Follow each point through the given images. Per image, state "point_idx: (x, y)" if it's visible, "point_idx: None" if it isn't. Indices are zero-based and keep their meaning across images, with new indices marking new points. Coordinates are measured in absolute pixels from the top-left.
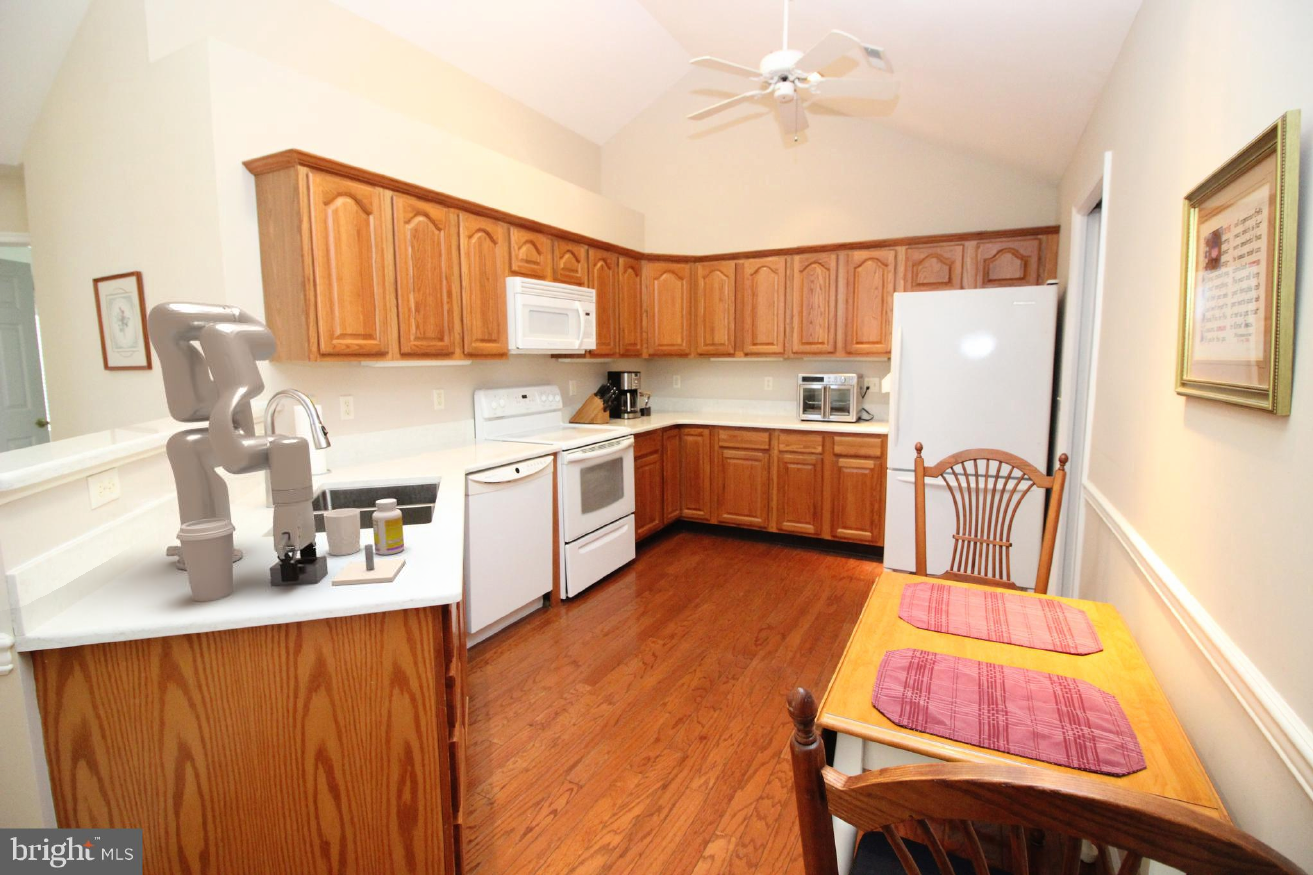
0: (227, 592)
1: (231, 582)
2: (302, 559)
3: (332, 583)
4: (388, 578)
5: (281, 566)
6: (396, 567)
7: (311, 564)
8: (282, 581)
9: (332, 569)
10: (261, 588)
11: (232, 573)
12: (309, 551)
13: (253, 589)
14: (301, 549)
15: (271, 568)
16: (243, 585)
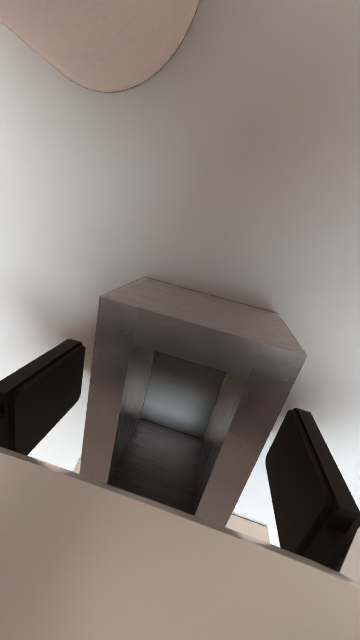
0: (59, 70)
1: (63, 52)
2: (215, 459)
3: (76, 467)
4: None
5: (8, 382)
6: None
7: None
8: (70, 340)
9: (266, 479)
10: (132, 237)
11: (39, 2)
12: (292, 526)
13: (131, 200)
14: (332, 510)
15: (99, 306)
16: (221, 121)
